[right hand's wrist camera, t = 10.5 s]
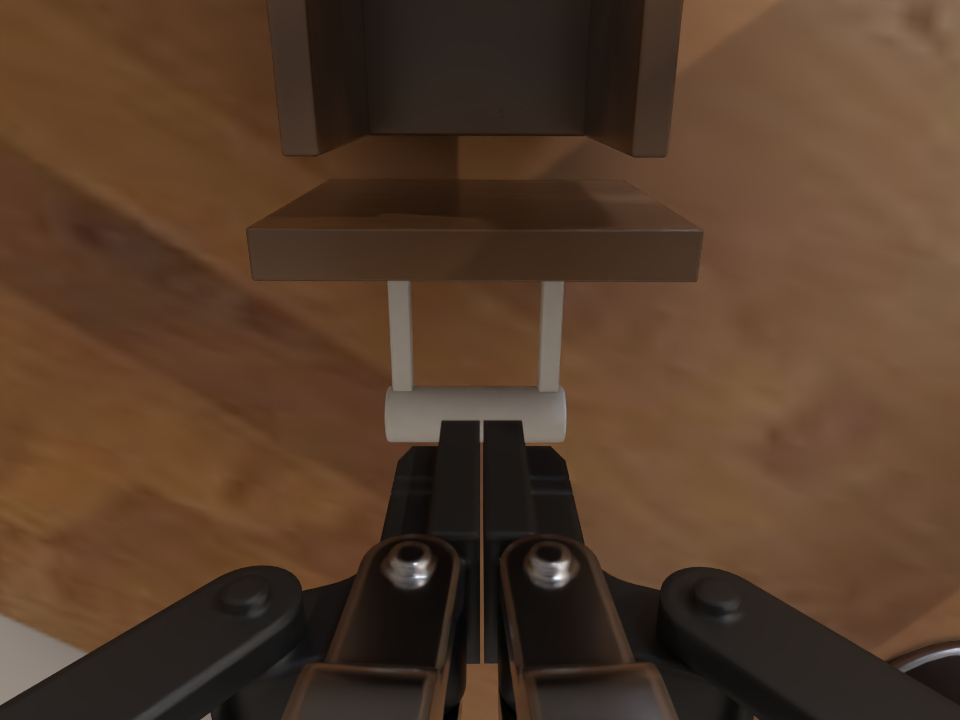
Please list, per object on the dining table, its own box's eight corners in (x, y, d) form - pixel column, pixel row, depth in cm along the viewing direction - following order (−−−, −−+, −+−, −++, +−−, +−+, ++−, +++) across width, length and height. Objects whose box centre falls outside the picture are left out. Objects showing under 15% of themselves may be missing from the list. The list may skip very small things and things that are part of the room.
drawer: (609, 374, 25) (669, 506, 17) (343, 373, 25) (279, 505, 17) (683, -535, 16) (878, -1133, 8) (271, -536, 16) (71, -1137, 8)
